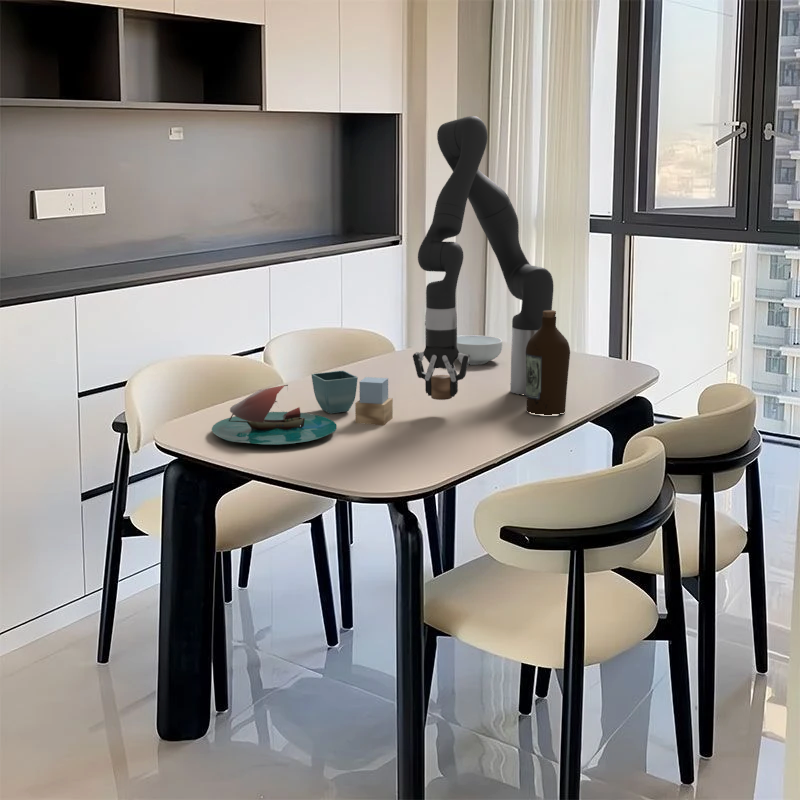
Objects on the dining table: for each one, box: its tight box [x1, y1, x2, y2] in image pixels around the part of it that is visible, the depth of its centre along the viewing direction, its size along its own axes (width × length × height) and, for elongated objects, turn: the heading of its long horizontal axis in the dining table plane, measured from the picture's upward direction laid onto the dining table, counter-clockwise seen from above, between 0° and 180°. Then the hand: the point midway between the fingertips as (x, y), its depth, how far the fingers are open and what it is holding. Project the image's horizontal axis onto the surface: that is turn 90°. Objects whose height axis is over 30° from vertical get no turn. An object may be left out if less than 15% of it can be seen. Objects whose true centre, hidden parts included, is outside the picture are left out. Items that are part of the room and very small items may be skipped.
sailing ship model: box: [211, 384, 338, 445], centre depth 247 cm, size 28×28×11 cm
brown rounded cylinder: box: [430, 374, 453, 401], centre depth 265 cm, size 5×5×5 cm
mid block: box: [359, 376, 389, 404], centre depth 259 cm, size 6×6×5 cm
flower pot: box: [311, 370, 359, 415], centre depth 268 cm, size 9×9×9 cm
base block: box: [354, 397, 394, 426], centre depth 260 cm, size 7×7×5 cm
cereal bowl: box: [456, 334, 503, 366], centre depth 328 cm, size 17×17×7 cm
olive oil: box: [525, 310, 571, 415], centre depth 266 cm, size 11×11×25 cm
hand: (441, 395), depth 265 cm, fingers closed on brown rounded cylinder, 5 cm apart
